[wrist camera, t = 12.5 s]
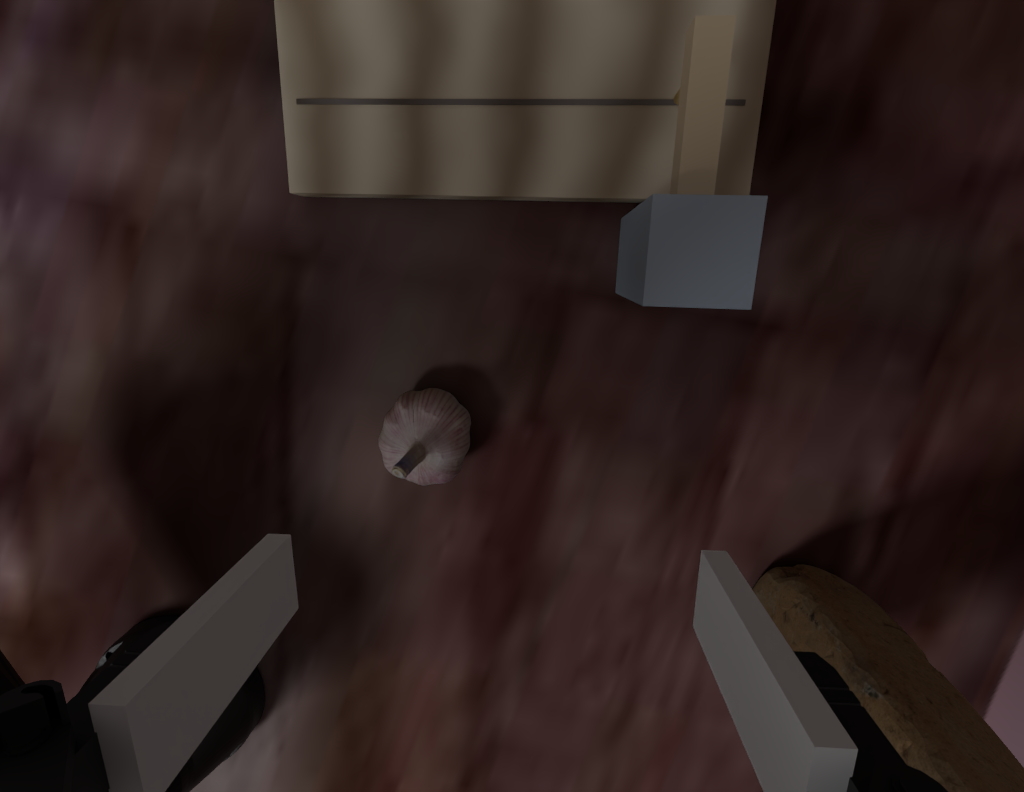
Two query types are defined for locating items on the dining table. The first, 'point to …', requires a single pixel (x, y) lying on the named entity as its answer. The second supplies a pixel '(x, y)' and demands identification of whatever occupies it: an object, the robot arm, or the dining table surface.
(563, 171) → the board
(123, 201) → the dining table surface
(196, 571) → the dining table surface
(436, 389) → the garlic bulb
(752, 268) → the hammer
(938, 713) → the stone
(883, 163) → the dining table surface
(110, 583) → the dining table surface
